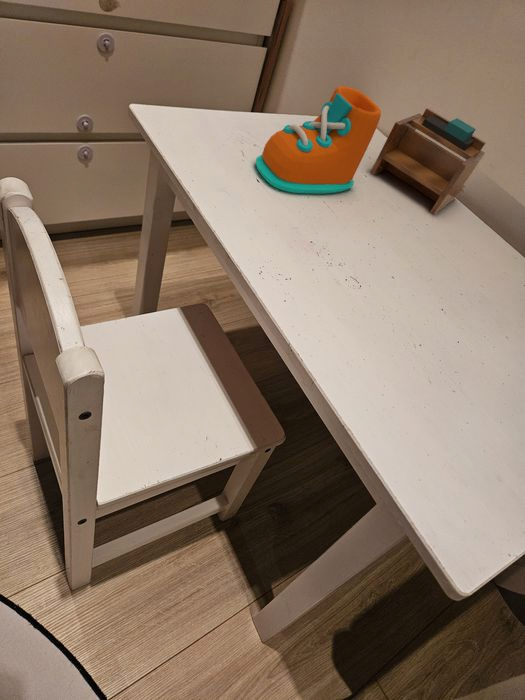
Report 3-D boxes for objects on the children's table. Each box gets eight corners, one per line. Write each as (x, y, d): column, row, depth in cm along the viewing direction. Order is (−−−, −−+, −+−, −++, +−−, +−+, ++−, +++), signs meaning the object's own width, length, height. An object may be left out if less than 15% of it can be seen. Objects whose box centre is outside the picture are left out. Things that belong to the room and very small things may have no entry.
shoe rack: (453, 200, 101) (490, 145, 92) (432, 215, 93) (471, 158, 84) (393, 161, 105) (423, 105, 95) (369, 173, 97) (399, 114, 88)
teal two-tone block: (421, 124, 92) (429, 109, 90) (429, 121, 95) (437, 106, 93) (463, 150, 90) (473, 135, 88) (470, 146, 93) (480, 131, 91)
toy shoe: (244, 158, 86) (268, 72, 75) (327, 160, 95) (359, 84, 84) (273, 197, 80) (304, 111, 69) (359, 195, 89) (397, 119, 78)
